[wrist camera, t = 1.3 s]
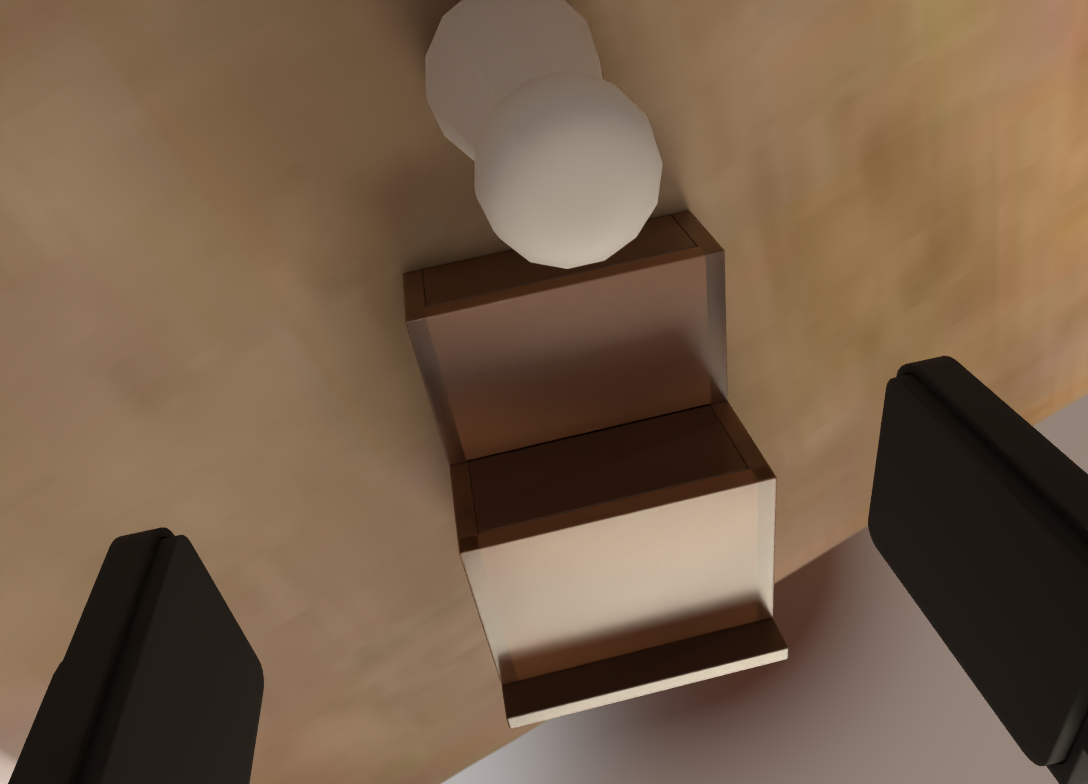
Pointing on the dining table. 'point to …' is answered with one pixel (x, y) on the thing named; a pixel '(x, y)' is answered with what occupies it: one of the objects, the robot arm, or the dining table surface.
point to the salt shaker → (543, 129)
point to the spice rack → (600, 469)
